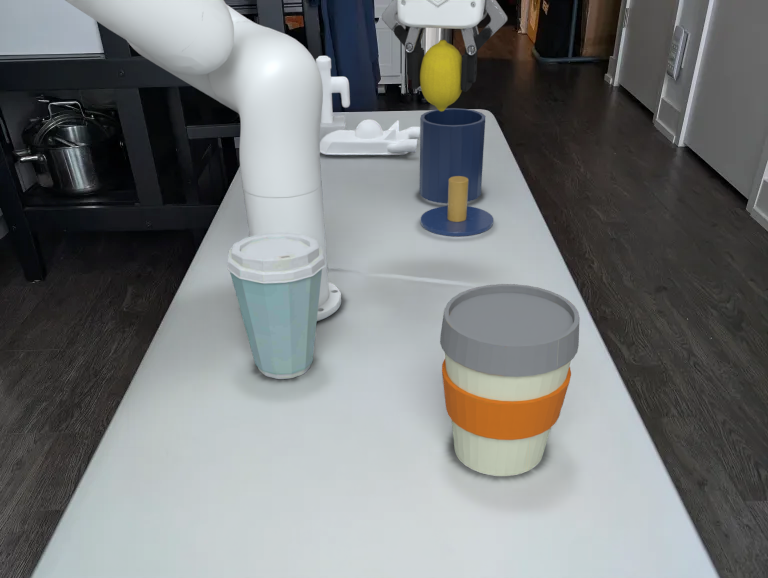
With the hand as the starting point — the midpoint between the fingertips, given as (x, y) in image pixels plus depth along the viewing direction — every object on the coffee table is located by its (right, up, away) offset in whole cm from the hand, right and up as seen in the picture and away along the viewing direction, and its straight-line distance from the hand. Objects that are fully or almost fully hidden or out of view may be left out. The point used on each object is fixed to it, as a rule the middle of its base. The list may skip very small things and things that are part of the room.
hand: (442, 85), depth 99 cm
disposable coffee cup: (-19, -36, -5) cm, 41 cm away
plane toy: (-10, +17, +56) cm, 60 cm away
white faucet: (-19, +22, +62) cm, 68 cm away
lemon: (0, -2, +2) cm, 3 cm away
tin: (+4, +1, +37) cm, 37 cm away
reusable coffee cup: (+4, -47, -18) cm, 51 cm away
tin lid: (+4, -8, +26) cm, 28 cm away
